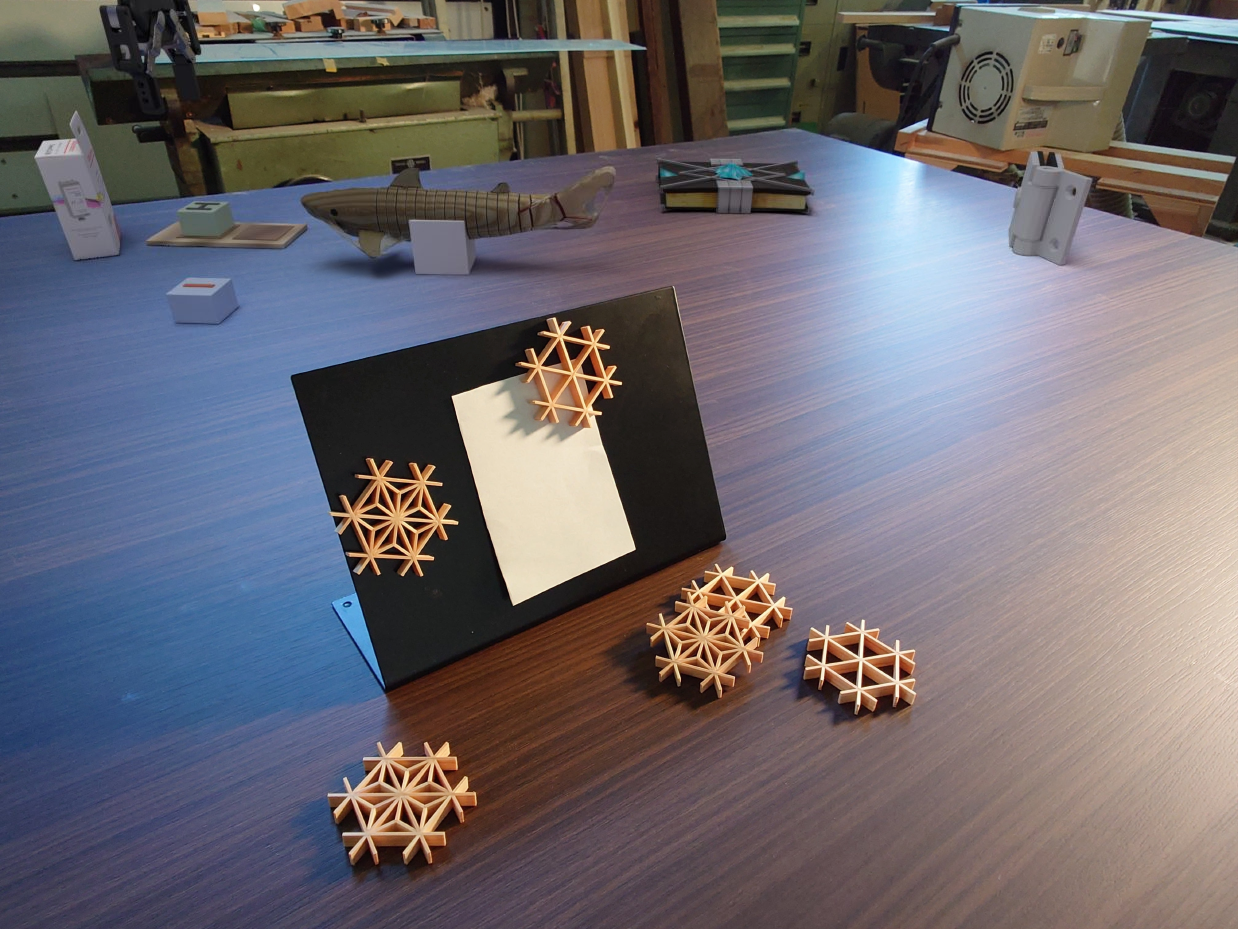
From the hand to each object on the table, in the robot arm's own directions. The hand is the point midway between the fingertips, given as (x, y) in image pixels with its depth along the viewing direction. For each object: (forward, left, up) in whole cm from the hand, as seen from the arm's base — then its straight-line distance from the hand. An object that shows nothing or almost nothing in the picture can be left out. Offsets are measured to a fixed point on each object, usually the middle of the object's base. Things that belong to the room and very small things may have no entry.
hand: (173, 106), depth 91 cm
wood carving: (+33, -6, -16) cm, 37 cm away
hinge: (+103, +6, -16) cm, 104 cm away
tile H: (-1, +2, -15) cm, 15 cm away
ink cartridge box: (-12, -3, -16) cm, 20 cm away
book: (+66, +25, -16) cm, 72 cm away
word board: (+1, +2, -16) cm, 16 cm away
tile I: (+10, -22, -16) cm, 29 cm away
